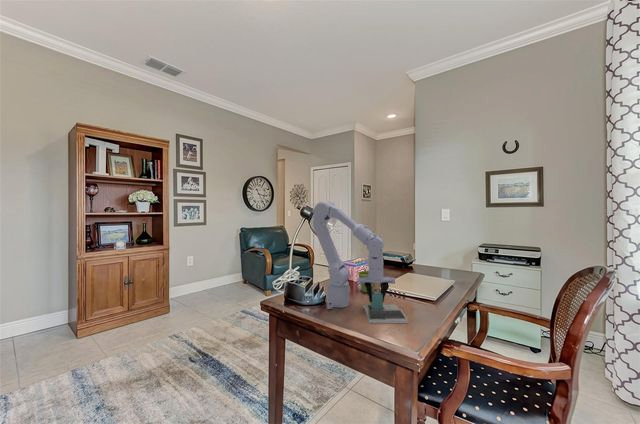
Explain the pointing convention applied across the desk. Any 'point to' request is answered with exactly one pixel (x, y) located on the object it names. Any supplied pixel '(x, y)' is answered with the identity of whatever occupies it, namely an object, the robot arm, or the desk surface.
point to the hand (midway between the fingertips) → (376, 301)
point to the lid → (385, 307)
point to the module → (377, 300)
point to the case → (386, 316)
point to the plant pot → (362, 275)
